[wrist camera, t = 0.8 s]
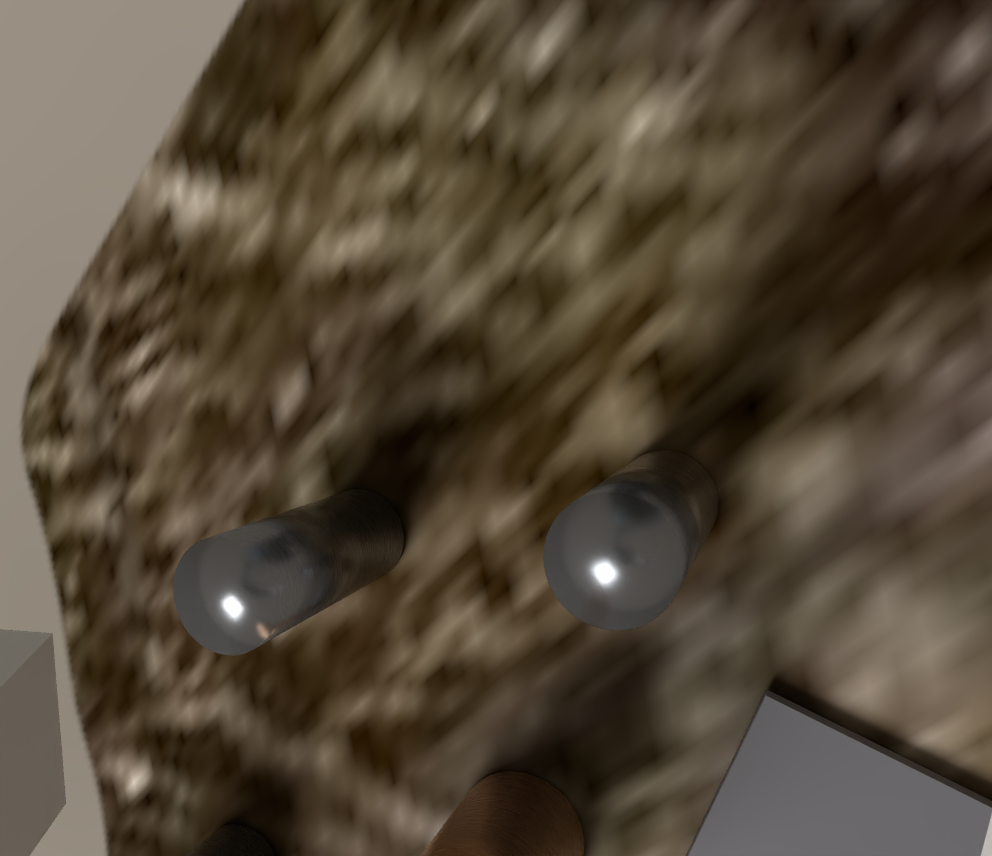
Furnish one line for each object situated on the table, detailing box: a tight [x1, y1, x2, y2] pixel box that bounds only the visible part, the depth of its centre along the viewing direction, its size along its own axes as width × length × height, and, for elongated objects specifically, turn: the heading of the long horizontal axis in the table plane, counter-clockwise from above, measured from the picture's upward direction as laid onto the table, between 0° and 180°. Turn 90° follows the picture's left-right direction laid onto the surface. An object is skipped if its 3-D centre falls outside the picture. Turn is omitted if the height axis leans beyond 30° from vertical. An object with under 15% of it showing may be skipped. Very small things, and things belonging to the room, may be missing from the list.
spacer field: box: [173, 450, 719, 856], centre depth 29 cm, size 28×12×8 cm, turn 158°
